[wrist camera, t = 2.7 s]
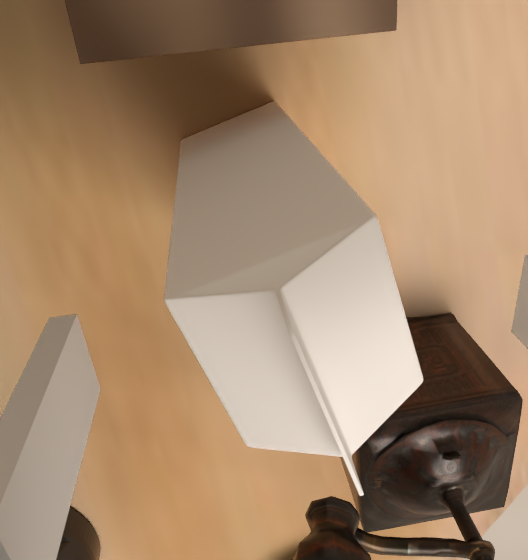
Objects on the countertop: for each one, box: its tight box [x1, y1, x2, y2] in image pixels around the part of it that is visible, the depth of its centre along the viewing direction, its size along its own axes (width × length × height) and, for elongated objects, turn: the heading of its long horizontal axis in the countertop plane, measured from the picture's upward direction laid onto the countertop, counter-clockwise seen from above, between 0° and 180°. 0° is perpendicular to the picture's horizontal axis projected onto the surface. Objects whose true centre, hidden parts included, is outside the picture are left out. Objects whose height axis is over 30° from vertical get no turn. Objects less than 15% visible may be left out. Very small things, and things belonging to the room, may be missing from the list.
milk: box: [164, 101, 423, 496], centre depth 21 cm, size 6×6×22 cm
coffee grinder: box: [293, 314, 523, 560], centre depth 32 cm, size 16×11×18 cm
